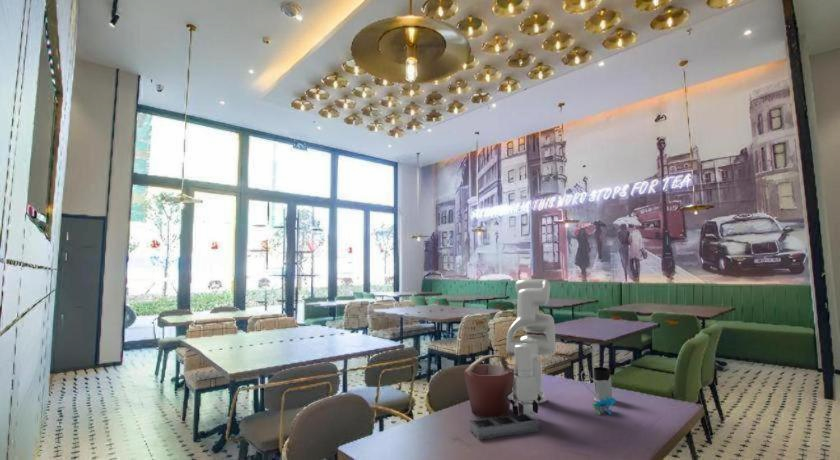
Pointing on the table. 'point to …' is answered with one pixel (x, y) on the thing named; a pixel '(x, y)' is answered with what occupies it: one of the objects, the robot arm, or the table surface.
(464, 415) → the table surface
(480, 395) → the bucket
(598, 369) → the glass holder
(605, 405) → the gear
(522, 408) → the white slotted box
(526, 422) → the grey compartment tray
